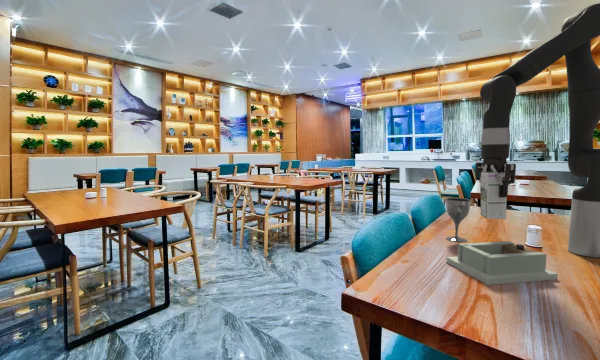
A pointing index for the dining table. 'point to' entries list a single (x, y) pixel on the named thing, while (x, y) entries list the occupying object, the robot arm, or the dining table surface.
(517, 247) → the clamp block
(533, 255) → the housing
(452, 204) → the wine glass
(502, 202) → the syrup box
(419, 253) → the dining table surface
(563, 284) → the dining table surface
